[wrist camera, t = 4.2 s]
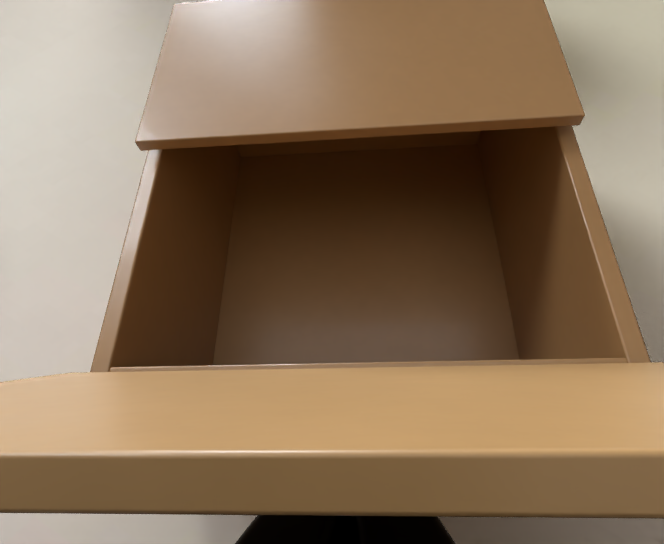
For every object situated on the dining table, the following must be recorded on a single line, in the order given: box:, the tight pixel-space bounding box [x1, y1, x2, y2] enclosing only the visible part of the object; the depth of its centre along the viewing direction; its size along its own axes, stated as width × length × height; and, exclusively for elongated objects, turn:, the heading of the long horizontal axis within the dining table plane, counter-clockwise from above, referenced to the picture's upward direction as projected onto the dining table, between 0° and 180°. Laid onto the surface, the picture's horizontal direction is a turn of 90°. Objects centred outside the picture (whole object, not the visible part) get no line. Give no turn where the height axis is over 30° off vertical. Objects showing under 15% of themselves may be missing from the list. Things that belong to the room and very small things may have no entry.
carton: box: [90, 0, 651, 372], centre depth 16 cm, size 14×13×8 cm
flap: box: [0, 362, 664, 518], centre depth 6 cm, size 7×13×1 cm
